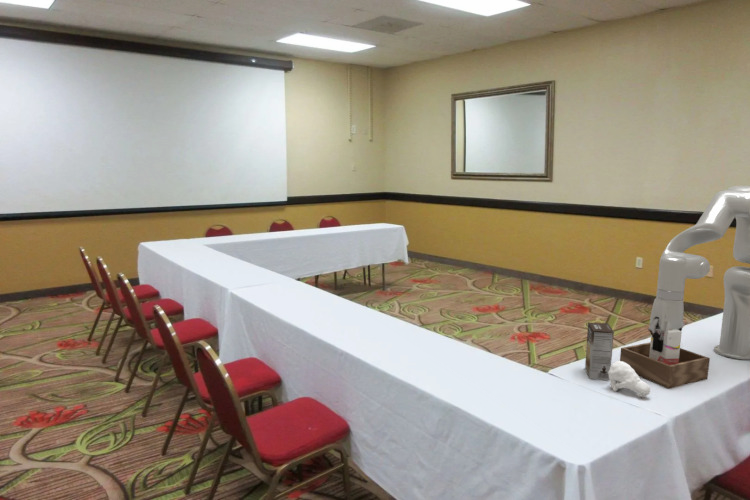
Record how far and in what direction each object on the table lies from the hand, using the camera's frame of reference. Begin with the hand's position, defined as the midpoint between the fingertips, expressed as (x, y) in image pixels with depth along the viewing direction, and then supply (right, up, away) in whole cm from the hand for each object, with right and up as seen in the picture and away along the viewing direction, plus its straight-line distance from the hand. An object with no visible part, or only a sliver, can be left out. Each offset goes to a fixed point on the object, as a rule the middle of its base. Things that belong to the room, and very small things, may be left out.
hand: (664, 348), depth 172 cm
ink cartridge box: (0, -5, +1) cm, 5 cm away
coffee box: (-22, -9, 0) cm, 23 cm away
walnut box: (0, -8, +1) cm, 8 cm away
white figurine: (-18, -11, -13) cm, 24 cm away
